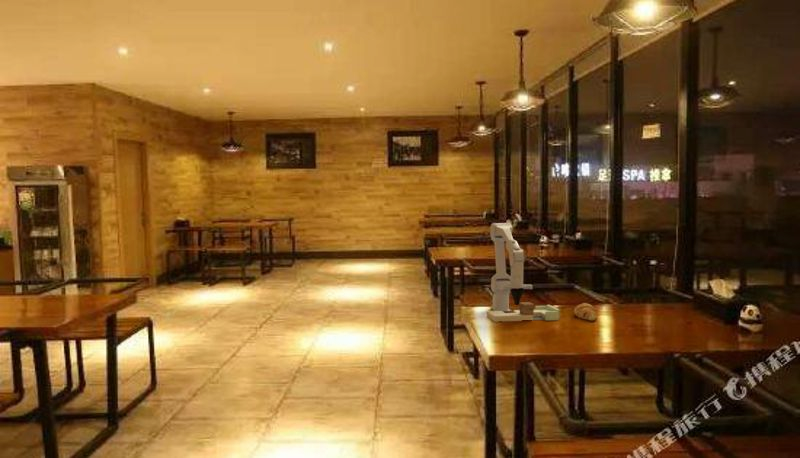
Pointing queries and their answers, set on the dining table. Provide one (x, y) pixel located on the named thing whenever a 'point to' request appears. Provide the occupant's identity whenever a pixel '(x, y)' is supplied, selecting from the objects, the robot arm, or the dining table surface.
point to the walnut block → (526, 308)
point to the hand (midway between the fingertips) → (516, 304)
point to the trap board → (539, 314)
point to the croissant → (585, 312)
